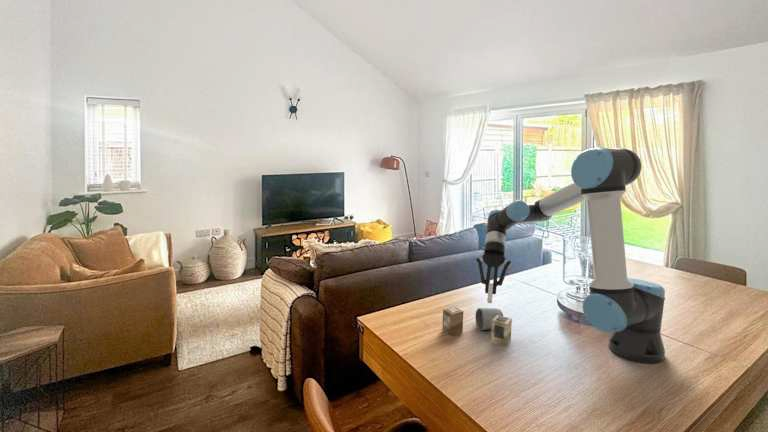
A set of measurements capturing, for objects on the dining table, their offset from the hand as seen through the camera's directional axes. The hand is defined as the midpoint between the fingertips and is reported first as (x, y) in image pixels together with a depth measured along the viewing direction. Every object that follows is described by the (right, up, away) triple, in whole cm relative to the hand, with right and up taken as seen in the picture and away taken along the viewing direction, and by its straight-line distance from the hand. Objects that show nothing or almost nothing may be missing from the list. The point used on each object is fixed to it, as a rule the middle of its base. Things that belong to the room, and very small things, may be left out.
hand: (489, 301), depth 142 cm
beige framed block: (+2, -12, -8) cm, 15 cm away
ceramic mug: (0, -10, +3) cm, 11 cm away
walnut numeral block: (-13, -10, -1) cm, 17 cm away
